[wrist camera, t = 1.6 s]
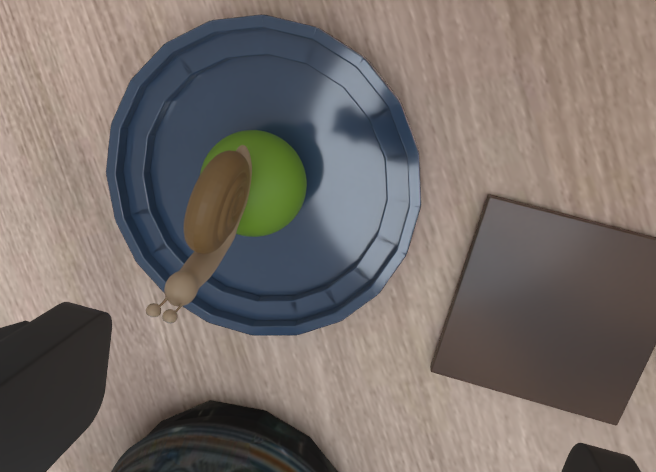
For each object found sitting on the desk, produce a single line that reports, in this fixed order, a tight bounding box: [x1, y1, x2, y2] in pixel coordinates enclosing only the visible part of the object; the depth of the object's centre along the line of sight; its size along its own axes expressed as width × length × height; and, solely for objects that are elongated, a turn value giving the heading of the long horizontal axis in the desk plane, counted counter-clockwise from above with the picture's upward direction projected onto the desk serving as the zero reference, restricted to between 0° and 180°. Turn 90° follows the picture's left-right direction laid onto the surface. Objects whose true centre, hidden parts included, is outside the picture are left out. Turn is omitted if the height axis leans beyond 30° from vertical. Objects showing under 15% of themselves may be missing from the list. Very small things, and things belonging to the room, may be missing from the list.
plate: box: [106, 15, 421, 335], centre depth 30 cm, size 17×17×2 cm
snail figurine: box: [146, 130, 307, 323], centre depth 25 cm, size 5×6×12 cm
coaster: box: [431, 195, 656, 425], centre depth 30 cm, size 11×11×1 cm
